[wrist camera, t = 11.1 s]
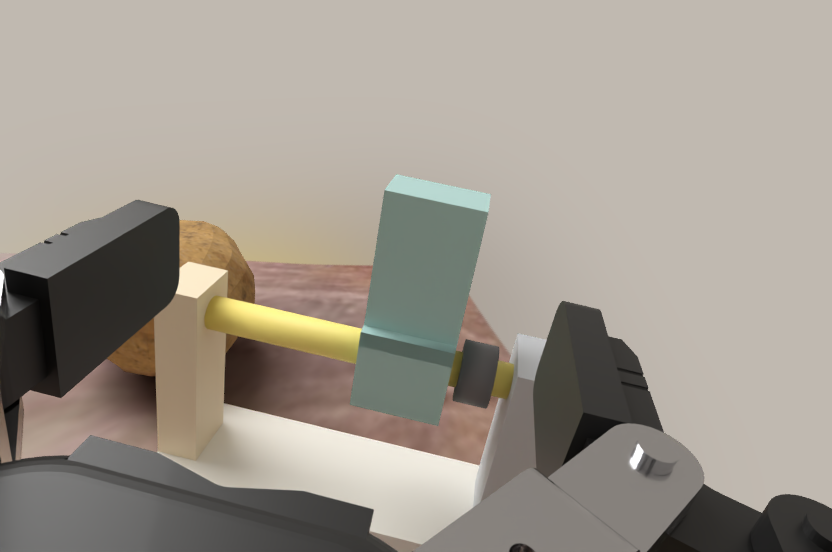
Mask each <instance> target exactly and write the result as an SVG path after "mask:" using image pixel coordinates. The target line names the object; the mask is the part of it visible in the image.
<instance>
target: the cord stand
mask: <svg viewBox="0 0 832 552" xmlns="http://www.w3.org/2000/svg"><path fill="white" fill-rule="evenodd" d="M227 288H228V271H227V270H223V269H219V268H214V267H210V266H205V265H201V264H197V263H192V262H187V263H186V264H184V265H183V266H182V267H181V268H180V276H179V284H178V288H177V291H176V294H175V296H174V298H173V299H172V301H171V302H170V304H169V305H168V306H167V307H165V308H164V309H163V310H162V311H161V312H160V313H158V314H157V315H156V316H155V317H154V335H155V368H156V402H157V435H158V452H157V453H160V454H161V455H163V456H165V457H167V458H169V459H171V460H172V461H174V462H176V463H178V464H180V465H182V466H184V467H185V468H187V469H189V470H191V471H193V472H195V473H196V474H198V475H200V476H202V477H204V478H206V479H208V480H209V481H211V482H213V483H215V484H217V485H220V486H224V487H235V488H256V489H277V490H298V491H306V492H310V493H313V494H317V495H321V496H325V497H329V498H332V499H336V500H340V501H344V502H348V503H352V504H355V505H359V506H363V507H367V508H371V509H374V512H373V517H372V522H371V526H370V531H369V533H370V534H372V535H373V536H375V537H377V538H379V539H381V540H382V541H384V542H385V543H387V544H388V545H389V546H391V547H392V548H394V549H395V550H397V551H398V552H412V551H414V550H415V549H417V548H418V547H419V546H421V545H422V544H423V543H425V542H426V541H428V540H429V539H430V538H432V537H433V536H434V535H436V534H437V533H439V532H440V531H441V530H443V529H444V528H446V527H447V526H448V525H450V524H451V523H452V522H454V521H455V520H457V519H458V518H459V517H461V516H462V515H464V514H465V513H466V512H468V511H469V510H470V509H472V508H473V507H475V506H476V505H477V504H479V503H480V502H481V501H483V500H484V499H486V498H487V497H488V496H490V495H491V494H493V493H494V492H495V491H497V490H498V489H499V488H501V487H502V486H504V485H505V484H506V483H508V482H509V481H511V480H512V479H513V478H515V477H516V476H517V475H519V474H520V473H522V472H523V471H525V470H527V469H529V468H536V451H535V429H534V408H533V387H534V381H535V376H536V371H537V368H538V364H539V361H540V358H541V356H542V353H543V350H544V347H545V344H546V341H547V340H545V339H540V338H536V337H532V336H526V335H522V334H517V338H516V341H515V344H514V348H513V351H512V355H511V358H510V362H509V363H507V362H503V361H498V359H499V347H497V346H493V345H489V344H484V343H480V342H475V341H471V340H467V339H466V340H465V344H464V347H463V351H462V352H459V351H456V353H455V357H454V361H453V366H452V370H451V374H450V378H449V382H448V386H452V387H455V388H454V393H453V401H456V402H460V403H464V404H468V405H473V406H477V407H481V408H485V409H486V408H487V406H488V404H489V401H490V397H491V396H494V397H498V398H499V400H498V403H497V407H496V410H495V414H494V417H493V421H492V424H491V428H490V431H489V434H488V438H487V441H486V445H485V448H484V452H483V455H482V459H481V462H480V466H479V465H475V464H471V463H467V462H463V461H458V460H454V459H450V458H446V457H442V456H438V455H434V454H430V453H426V452H422V451H417V450H413V449H409V448H405V447H401V446H397V445H393V444H389V443H385V442H381V441H376V440H372V439H368V438H364V437H360V436H356V435H352V434H348V433H344V432H340V431H336V430H331V429H327V428H323V427H319V426H315V425H311V424H307V423H303V422H299V421H295V420H290V419H286V418H282V417H278V416H274V415H270V414H266V413H262V412H258V411H254V410H249V409H245V408H241V407H237V406H233V405H229V404H225V403H224V380H225V349H226V333H227V334H231V335H235V336H239V337H244V338H248V339H252V340H256V341H261V342H265V343H269V344H273V345H278V346H282V347H286V348H290V349H295V350H299V351H303V352H307V353H312V354H316V355H320V356H324V357H329V358H333V359H337V360H341V361H346V362H350V363H354V364H356V360H357V353H358V347H359V340H360V333H361V330H362V329H360V328H356V327H351V326H347V325H343V324H338V323H334V322H330V321H325V320H321V319H317V318H312V317H308V316H304V315H299V314H295V313H291V312H286V311H282V310H278V309H273V308H269V307H265V306H260V305H256V304H252V303H247V302H243V301H239V300H234V299H230V298H227Z"/></svg>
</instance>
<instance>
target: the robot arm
mask: <svg viewBox="0 0 832 552" xmlns="http://www.w3.org/2000/svg"><path fill="white" fill-rule="evenodd" d="M179 276H180V222H179V216H178V213H177V211H176V210H175V209H174V208H170V207H166V206H162V205H157V204H153V203H149V202H145V201H140V200H135V201H133V202H131V203H129V204H127V205H125V206H123V207H121V208H119V209H117V210H115V211H113V212H111V213H109V214H108V215H106V216H104V217H102V218H97V219H93V220H89V221H84V222H80V223H78V224H76V225H74V226H72V227H70V228H68V229H66V230H64V231H62V232H61V234H60V235H58V234H57V235H54V236H52V237H50V238H48V239H46V240H45V241H44V243H38V244H36V245H35V246H32V247H30V248H28V249H26V250H24V251H22V252H20V253H18V254H16V255H14V256H12V257H10V258H8V259H6V260H4V261H2V262H0V552H398V551H397V550H395V549H394V548H392V547H391V546H389V545H388V544H387V543H385V542H384V541H382V540H381V539H379V538H377V537H375V536H373V535H372V534H370V533H369V531H370V526H371V522H372V517H373V512H374V509H371V508H367V507H363V506H359V505H355V504H352V503H348V502H344V501H340V500H336V499H332V498H329V497H325V496H321V495H317V494H313V493H310V492H306V491H298V490H277V489H256V488H235V487H224V486H220V485H217V484H215V483H213V482H211V481H209V480H208V479H206V478H204V477H202V476H200V475H198V474H196V473H195V472H193V471H191V470H189V469H187V468H185V467H184V466H182V465H180V464H178V463H176V462H174V461H172V460H171V459H169V458H167V457H165V456H163V455H161V454H160V453H157V452H153V451H149V450H145V449H142V448H138V447H134V446H130V445H126V444H122V443H119V442H115V441H111V440H107V439H103V438H100V437H96V436H92V435H90V436H89V437H88V438H87V439H86V440H85V441H84V442H83V443H82V444H81V445H80V446H79V447H78V448H77V449H76V450H75V451H74V452H73V453H72V454H71V455H70V456H42V457H34V458H26V459H21V452H22V436H23V419H24V408H23V401H22V396H23V395H24V394H25V393H27V392H28V391H29V390H32V391H36V392H40V393H44V394H47V395H51V396H55V397H59V398H61V397H63V396H64V395H65V394H66V393H67V392H68V391H70V390H71V389H72V388H73V387H74V386H75V385H76V384H78V383H79V382H80V381H81V380H82V379H83V378H85V377H86V376H87V375H88V374H89V373H90V372H92V371H93V370H94V369H95V368H96V367H97V366H98V365H100V364H101V363H102V362H103V361H104V360H105V359H107V358H108V357H109V356H110V355H111V354H112V353H113V352H115V351H116V350H117V349H118V348H119V347H120V346H122V345H123V344H124V343H125V342H126V341H127V340H128V339H130V338H131V337H132V336H133V335H134V334H135V333H137V332H138V331H139V330H140V329H141V328H142V327H143V326H145V325H146V324H147V323H148V322H149V321H150V320H152V319H153V318H154V317H155V316H156V315H157V314H158V313H160V312H161V311H162V310H163V309H164V308H165V307H167V306H168V305H169V304H170V302H171V301H172V299H173V298H174V296H175V294H176V291H177V288H178V284H179ZM533 408H534V429H535V451H536V468H529V469H527V470H525V471H523V472H522V473H520V474H519V475H517V476H516V477H515V478H513V479H512V480H511V481H509V482H508V483H506V484H505V485H504V486H502V487H501V488H499V489H498V490H497V491H495V492H494V493H493V494H491V495H490V496H488V497H487V498H486V499H484V500H483V501H481V502H480V503H479V504H477V505H476V506H475V507H473V508H472V509H470V510H469V511H468V512H466V513H465V514H464V515H462V516H461V517H459V518H458V519H457V520H455V521H454V522H452V523H451V524H450V525H448V526H447V527H446V528H444V529H443V530H441V531H440V532H439V533H437V534H436V535H434V536H433V537H432V538H430V539H429V540H428V541H426V542H425V543H423V544H422V545H421V546H419V547H418V548H417V549H415V550H414V551H412V552H832V509H831V508H829V507H827V506H825V505H824V504H821V503H819V502H817V501H814V500H811V499H809V498H805V497H802V496H798V495H790V494H785V495H779V496H775V497H774V498H772V499H771V500H770V502H769V503H768V505H767V506H766V508H765V510H764V511H763V513H761V512H758V511H756V510H754V509H752V508H750V507H748V506H746V505H744V504H741V503H739V502H737V501H735V500H733V499H731V498H729V497H727V496H725V495H722V494H720V493H719V492H716V491H714V490H713V489H711V488H709V487H708V486H706V485H705V484H703V483H704V473H703V470H702V467H701V465H700V464H699V462H698V460H697V459H696V458H695V456H694V455H693V454H692V453H691V452H690V451H689V450H688V449H687V448H686V447H685V446H683V445H682V444H681V443H680V442H678V441H677V440H675V439H674V438H672V437H671V436H669V435H667V434H665V433H664V432H663V429H662V426H661V423H660V420H659V417H658V414H657V411H656V409H655V406H654V403H653V400H652V397H651V394H650V392H649V391H648V386H647V383H646V380H645V377H643V372H642V368H641V366H640V363H639V360H638V357H637V356H636V355H635V354H634V352H633V351H632V350H631V349H630V348H629V347H628V346H627V345H626V344H625V343H624V342H623V341H622V340H621V339H617V338H612V337H609V336H608V335H607V331H606V327H605V324H604V320H603V317H602V313H601V311H600V310H599V309H595V308H591V307H587V306H582V305H578V304H574V303H570V302H565V301H562V302H561V303H560V305H559V307H558V309H557V311H556V314H555V317H554V320H553V323H552V326H551V329H550V332H549V335H548V338H547V341H546V344H545V347H544V350H543V353H542V356H541V358H540V361H539V364H538V368H537V371H536V376H535V381H534V387H533Z"/></svg>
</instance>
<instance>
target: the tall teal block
mask: <svg viewBox="0 0 832 552" xmlns="http://www.w3.org/2000/svg"><path fill="white" fill-rule="evenodd" d="M490 197H491V194H487V193H482V192H477V191H473V190H468V189H463V188H459V187H454V186H449V185H444V184H440V183H435V182H430V181H425V180H421V179H416V178H411V177H406V176H402V175H395V177H394V178H393V180H392V181H391V182H390V184H389V185H388V186H387V188H386V189H385V192H384V199H383V205H382V211H381V218H380V224H379V230H378V237H377V244H376V251H375V257H374V264H373V270H372V276H371V283H370V290H369V296H368V303H367V309H366V316H365V322H364V326H363V328H362V330H361V333H360V340H359V347H358V353H357V360H356V367H355V373H354V380H353V386H352V393H351V400H350V405H353V406H357V407H361V408H365V409H370V410H374V411H378V412H382V413H386V414H390V415H394V416H399V417H403V418H407V419H411V420H415V421H419V422H424V423H428V424H432V425H436V426H438V425H439V420H440V416H441V412H442V408H443V403H444V399H445V395H446V391H447V387H448V382H449V378H450V374H451V370H452V366H453V361H454V357H455V353H456V347H457V343H458V338H459V334H460V330H461V326H462V321H463V317H464V313H465V309H466V305H467V300H468V296H469V292H470V287H471V283H472V279H473V275H474V271H475V266H476V262H477V258H478V254H479V249H480V245H481V241H482V237H483V233H484V229H485V224H486V220H487V215H488V212H489V204H490Z"/></svg>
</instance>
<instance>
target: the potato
mask: <svg viewBox="0 0 832 552" xmlns="http://www.w3.org/2000/svg"><path fill="white" fill-rule="evenodd" d="M179 222H180V268H181V267H182V266H183V265H184V264H186V263H187V262H192V263H197V264H201V265H205V266H210V267H214V268H219V269H223V270H227V271H228V288H227V298H230V299H234V300H239V301H243V302H247V303H252V304H254V302H255V283H254V275H253V273H252V271H251V270H250V268H249V266H248V265H247V263H246V261H245V259H244V258H243V256H242V254H241V253H240V251H239V249H238V247H237V245H236V243H235V242H234V240H233V239H231V238H230V237H229V236H228V235H227V234H226V233H225V232H224V231H223V230H222V229H220V228H219V227H217V226H215V225H212V224H209V223H206V222H204V221H186V220H180V221H179ZM237 337H238V336H235V335H231V334H227V333H226V349H225V353H226V352H227V351H228V350H229V349H230V347H231V346H232V345H233V343H234V342H235V341H236V339H237ZM107 359H108V360H110V361H111V362H113V363H114V364H116V365H117V366H119V367H120V368H121V369H122V370H123V371H125V372H130V373H135V374H140V375H145V376H156V368H155V335H154V318H153V319H152V320H150V321H149V322H148V323H147V324H146V325H145V326H143V327H142V328H141V329H140V330H139V331H138V332H137V333H135V334H134V335H133V336H132V337H131V338H130V339H128V340H127V341H126V342H125V343H124V344H123V345H122V346H120V347H119V348H118V349H117V350H116V351H115V352H113V353H112V354H111V355H110V356H109V357H108V358H107Z"/></svg>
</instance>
